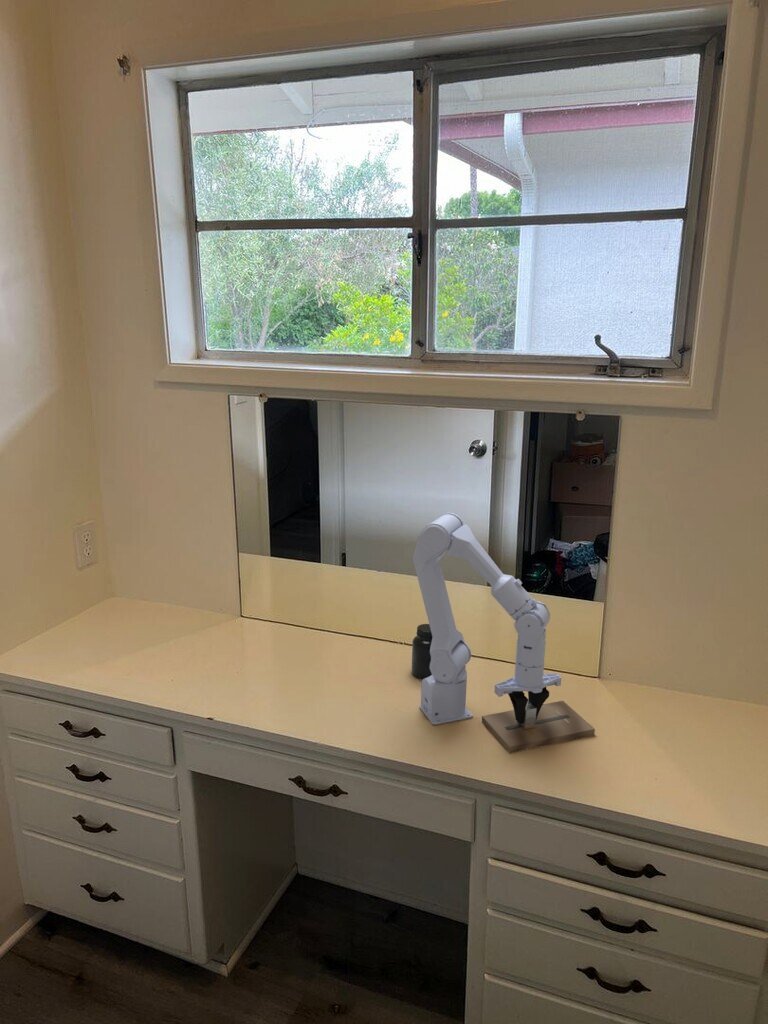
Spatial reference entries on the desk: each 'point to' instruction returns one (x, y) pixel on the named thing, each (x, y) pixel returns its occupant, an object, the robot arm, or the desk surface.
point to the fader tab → (529, 716)
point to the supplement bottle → (422, 652)
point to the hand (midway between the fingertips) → (525, 720)
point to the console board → (538, 727)
